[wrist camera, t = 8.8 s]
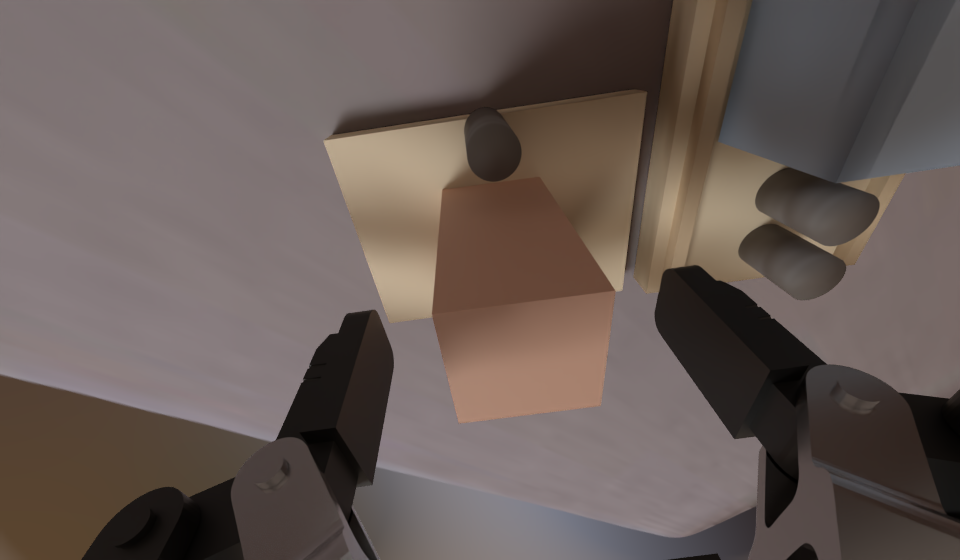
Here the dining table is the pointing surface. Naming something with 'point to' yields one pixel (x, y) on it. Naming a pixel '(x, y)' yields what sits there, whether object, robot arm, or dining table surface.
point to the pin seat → (488, 181)
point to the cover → (848, 87)
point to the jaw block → (518, 304)
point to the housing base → (738, 179)
